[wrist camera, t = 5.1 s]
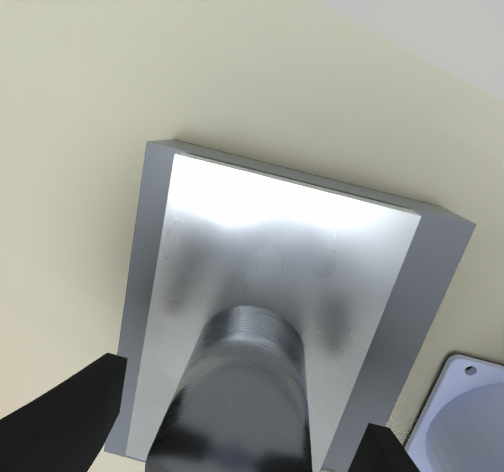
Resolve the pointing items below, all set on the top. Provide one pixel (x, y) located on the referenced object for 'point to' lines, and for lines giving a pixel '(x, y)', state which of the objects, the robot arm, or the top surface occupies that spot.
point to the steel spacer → (239, 400)
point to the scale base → (388, 330)
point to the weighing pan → (268, 281)
